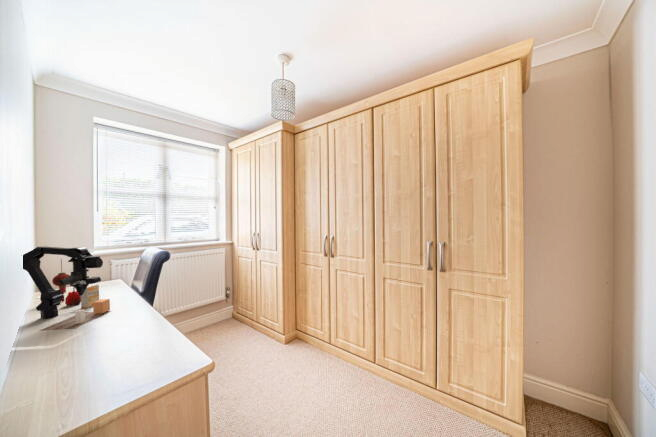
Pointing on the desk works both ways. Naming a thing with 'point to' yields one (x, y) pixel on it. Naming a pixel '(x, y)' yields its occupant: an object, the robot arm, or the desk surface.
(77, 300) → the red clay folk toy
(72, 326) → the walnut board
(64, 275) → the lantern
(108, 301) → the peach wooden cube
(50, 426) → the desk surface
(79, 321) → the white post
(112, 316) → the desk surface
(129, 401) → the desk surface
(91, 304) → the supplement box
